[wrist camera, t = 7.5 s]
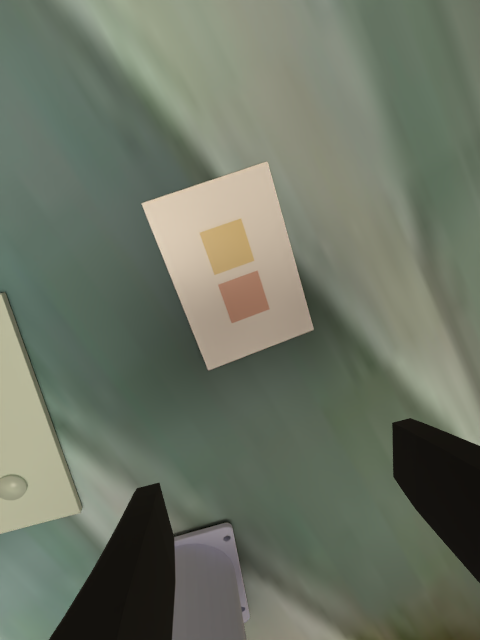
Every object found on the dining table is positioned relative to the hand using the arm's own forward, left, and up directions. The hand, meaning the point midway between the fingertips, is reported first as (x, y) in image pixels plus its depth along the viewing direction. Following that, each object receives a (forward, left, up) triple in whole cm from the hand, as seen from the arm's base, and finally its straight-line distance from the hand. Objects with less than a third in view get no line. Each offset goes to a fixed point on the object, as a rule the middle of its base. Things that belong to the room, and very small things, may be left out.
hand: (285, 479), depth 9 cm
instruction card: (+5, -1, -10) cm, 12 cm away
